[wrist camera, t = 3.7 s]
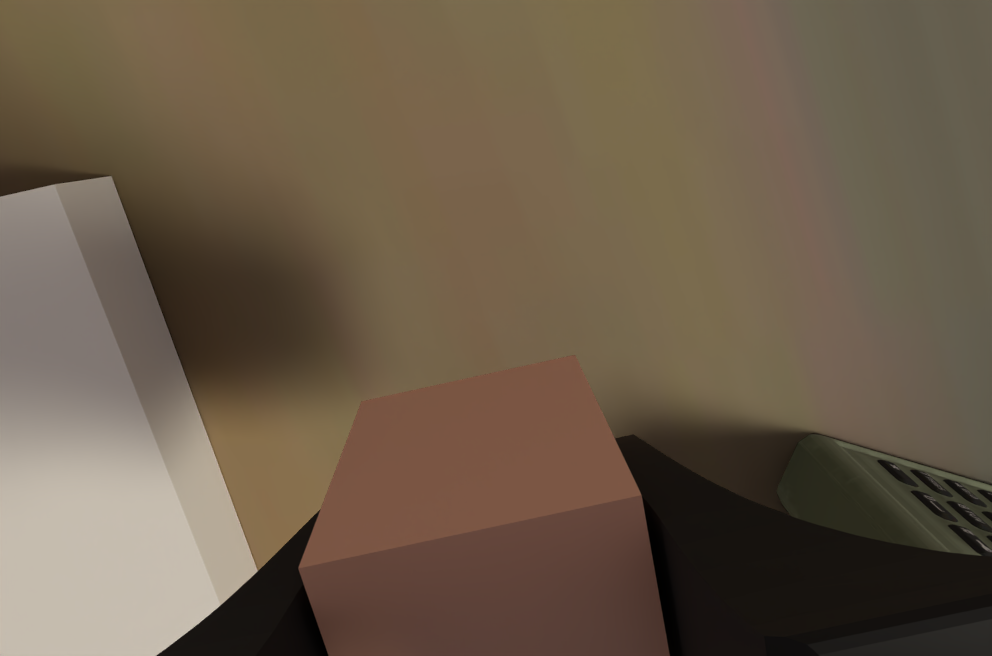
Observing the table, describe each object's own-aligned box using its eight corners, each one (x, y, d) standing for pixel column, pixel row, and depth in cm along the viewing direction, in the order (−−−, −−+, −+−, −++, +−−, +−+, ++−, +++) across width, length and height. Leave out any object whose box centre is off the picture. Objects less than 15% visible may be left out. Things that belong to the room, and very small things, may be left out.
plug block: (610, 540, 14) (688, 763, 9) (414, 582, 14) (388, 824, 9) (574, 354, 13) (640, 495, 8) (361, 401, 13) (298, 568, 8)
